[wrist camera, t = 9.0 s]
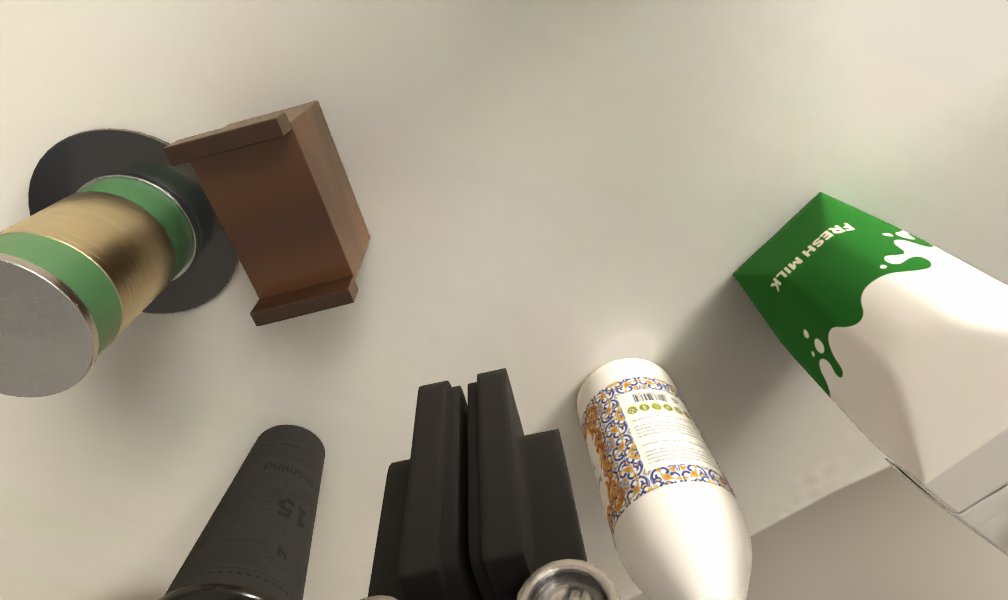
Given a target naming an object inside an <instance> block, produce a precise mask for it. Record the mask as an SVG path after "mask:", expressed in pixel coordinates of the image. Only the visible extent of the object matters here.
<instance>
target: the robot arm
mask: <svg viewBox="0 0 1008 600" xmlns="http://www.w3.org/2000/svg"><path fill="white" fill-rule="evenodd" d="M361 600H621V598H620V596H619V594H618V591H617V589H616V587H615V586H614V584H613V583H612V581H611V579H610V578H609V576H608V575H606V574H605V573H604V572H603V571H602V570H601V569H599V568H598V567H597V566H595V565H592V564H590V563H588V562H587V558H586V553H585V548H584V544H583V539H582V534H581V529H580V524H579V519H578V515H577V510H576V505H575V500H574V495H573V491H572V486H571V481H570V477H569V472H568V468H567V463H566V459H565V454H564V450H563V445H562V441H561V437H560V432H559V429H555V430H550V431H545V432H540V433H535V434H530V435H526V436H524V433H523V429H522V425H521V422H520V418H519V414H518V411H517V407H516V403H515V399H514V396H513V392H512V388H511V385H510V381H509V377H508V374H507V371H506V369H505V368H504V369H499V370H494V371H490V372H485V373H480V374H478V375H477V382H475V383H470V384H468V406H467V403H466V400H465V396H464V393H463V391H462V388H461V386H456V387H451V385H450V383H449V381H443V382H438V383H433V384H429V385H424V386H420V387H419V390H418V397H417V406H416V414H415V423H414V432H413V441H412V449H411V458H410V459H409V460H404V461H399V462H395V463H391V465H390V466H389V469H388V473H387V479H386V485H385V491H384V498H383V504H382V510H381V517H380V523H379V529H378V536H377V542H376V548H375V555H374V561H373V567H372V574H371V580H370V586H369V593H368V597H366V598H363V599H361Z"/></svg>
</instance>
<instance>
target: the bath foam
mask: <svg viewBox="0 0 1008 600" xmlns="http://www.w3.org/2000/svg"><path fill="white" fill-rule="evenodd" d="M577 411H578V416H579V419H580V423H581V426H582V431H583V434H584V438H585V441H586V445H587V449H588V452H589V456H590V459H591V463H592V466H593V470H594V473H595V477H596V481H597V484H598V488H599V491H600V495H601V498H602V502H603V505H604V509H605V513H606V516H607V520H608V523H609V527H610V530H611V534H612V537H613V541H614V544H615V547H616V550H617V552H618V554H619V557H620V559H621V561H622V563H623V565H624V567H625V569H626V571H627V572H628V574H629V576H630V577H631V579H632V580H633V581H634V583H635V584H636V585H637V587H638V588H639V589H640V590H641V591H642V592H643V593H644V595H645V596H647V597H648V598H649V599H650V600H746V598H747V592H748V587H749V581H750V575H751V566H752V546H751V538H750V534H749V529H748V526H747V522H746V519H745V517H744V514H743V512H742V509H741V507H740V505H739V503H738V501H737V500H738V499H736V496H735V494H734V492H733V490H732V488H731V487H730V485H729V483H728V481H727V479H726V478H725V476H724V474H723V472H722V470H721V468H720V467H719V465H718V463H717V461H716V459H715V457H714V456H713V454H712V452H711V450H710V448H709V446H708V445H707V443H706V441H705V439H704V437H703V436H702V434H701V432H700V430H699V428H698V426H697V425H696V423H695V421H694V419H693V417H692V415H691V414H690V412H689V410H688V408H687V406H686V404H685V403H684V401H683V399H682V397H681V395H680V394H679V392H678V391H677V389H676V387H675V385H674V384H673V382H672V380H671V378H670V377H669V375H668V374H667V373H666V372H665V371H664V370H663V369H662V368H661V367H659V366H658V365H656V364H654V363H652V362H650V361H647V360H643V359H635V358H628V359H620V360H616V361H613V362H610V363H607V364H605V365H603V366H601V367H600V368H598V369H597V370H595V371H594V372H593V373H592V374H591V375H590V376H589V377H588V378H587V379H586V380H585V382H584V383H583V385H582V386H581V388H580V391H579V394H578V398H577Z"/></svg>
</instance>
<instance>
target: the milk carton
mask: <svg viewBox="0 0 1008 600" xmlns="http://www.w3.org/2000/svg"><path fill="white" fill-rule="evenodd" d="M733 276H734V277H735V278H736V280H737V281H738V283H739V284H740V285H741V287H742V288H743V290H744V291H745V292H746V294H747V295H748V297H749V298H750V300H751V301H752V302H753V304H754V305H755V307H756V308H757V309H758V311H759V312H760V314H761V315H762V316H763V318H764V319H765V321H766V322H767V324H768V325H769V327H770V328H771V329H772V331H773V332H774V334H775V335H776V337H777V338H778V339H779V340H780V342H781V343H782V344H783V345H784V346H785V348H786V349H787V350H788V351H789V352H790V354H791V355H792V356H793V357H794V358H795V359H796V360H797V361H798V363H799V364H800V365H801V366H802V367H803V368H804V369H805V370H806V371H807V373H808V374H809V375H810V376H811V377H812V378H813V379H814V380H815V381H816V382H817V384H818V385H819V386H820V387H821V388H822V389H823V390H824V391H825V392H826V393H827V395H828V396H829V397H830V398H831V399H832V400H833V401H834V402H835V403H836V404H837V406H838V407H839V408H840V409H841V410H842V411H843V412H844V413H845V414H846V415H847V417H848V418H849V419H850V420H851V421H852V422H853V423H854V424H855V425H856V426H857V428H858V429H859V430H860V431H861V432H862V433H863V434H864V435H865V436H866V437H867V438H868V439H869V440H870V441H871V442H872V443H873V444H874V445H875V446H876V447H877V448H878V449H879V450H881V451H882V452H883V453H884V454H885V455H886V456H888V457H889V458H890V459H891V460H893V461H894V462H895V463H896V464H898V465H899V466H900V467H901V468H902V469H903V470H904V471H905V472H906V473H908V474H909V475H910V476H911V477H913V478H914V479H915V480H916V481H917V482H919V483H920V484H921V485H922V486H924V487H925V488H926V489H927V490H929V491H930V492H931V493H932V494H934V495H935V496H936V497H937V498H938V499H940V500H941V501H942V502H943V503H945V504H946V505H947V506H948V507H950V508H951V509H952V510H953V511H955V512H956V513H957V514H956V513H955V512H953V511H951V510H950V509H948V508H947V507H945V506H944V505H942V504H941V503H939V502H938V501H937V500H935V499H934V498H933V497H932V496H931V495H929V494H928V493H927V492H926V491H925V490H924V489H922V488H921V487H920V486H919V485H917V484H916V483H915V482H914V481H913V480H912V479H911V478H910V477H908V476H907V475H906V474H905V473H904V472H903V471H902V470H901V469H899V468H898V467H897V466H896V465H894V464H893V463H892V462H891V461H889V460H888V459H887V458H885V459H886V460H887V461H888V463H889V464H890V465H891V466H892V467H893V468H895V469H896V470H897V471H898V472H899V473H900V474H901V475H902V476H903V477H905V478H906V479H907V480H908V481H909V482H911V483H912V484H913V485H914V486H915V487H916V488H918V489H919V490H920V491H921V492H922V493H924V494H925V495H926V496H927V497H929V498H930V499H931V500H932V501H934V502H935V503H936V504H938V505H939V506H940V507H941V508H943V509H944V510H946V511H947V512H948V513H950V514H951V515H953V516H954V517H955V518H957V519H958V520H959V521H961V522H962V523H963V524H965V525H966V526H967V527H968V528H970V529H971V530H972V531H974V532H975V533H977V534H978V535H979V536H981V537H982V538H984V539H985V540H987V541H988V542H989V543H991V544H992V545H993V546H995V547H996V548H997V549H999V550H1000V551H1001V552H1003V553H1004V554H1006V555H1007V556H1008V286H1007V285H1005V284H1003V283H1001V282H1000V281H998V280H996V279H994V278H992V277H990V276H989V275H987V274H985V273H983V272H981V271H979V270H977V269H976V268H974V267H972V266H970V265H968V264H966V263H964V262H963V261H961V260H959V259H957V258H955V257H953V256H952V255H950V254H948V253H946V252H944V251H942V250H940V249H939V248H937V247H935V246H933V245H931V244H929V243H927V242H926V241H924V240H922V239H920V238H918V237H916V236H914V235H912V234H909V233H907V232H905V231H903V230H901V229H899V228H897V227H895V226H893V225H891V224H889V223H886V222H884V221H882V220H880V219H878V218H876V217H873V216H871V215H869V214H867V213H865V212H863V211H860V210H858V209H856V208H854V207H852V206H850V205H847V204H845V203H843V202H841V201H839V200H836V199H834V198H832V197H830V196H828V195H826V194H824V193H822V192H820V193H819V194H818V195H817V196H816V197H815V198H814V199H813V200H811V201H810V202H809V203H808V204H807V205H806V206H805V207H804V208H803V209H802V210H801V211H800V212H799V213H798V214H797V215H795V216H794V217H793V218H792V219H791V220H790V221H789V222H788V223H787V224H786V225H785V226H784V227H783V228H782V229H781V230H779V231H778V232H777V233H776V234H775V235H774V236H773V237H772V238H771V239H770V240H769V241H768V242H767V243H766V244H765V245H763V246H762V247H761V248H760V249H759V250H758V251H757V252H756V253H755V254H754V255H753V256H752V257H751V258H750V259H749V260H747V261H746V262H745V263H744V264H743V265H742V266H741V267H740V268H739V269H738V270H737V271H736V272H735V273H734V274H733Z"/></svg>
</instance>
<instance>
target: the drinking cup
mask: <svg viewBox="0 0 1008 600" xmlns="http://www.w3.org/2000/svg"><path fill="white" fill-rule="evenodd" d="M324 457H325V450H324V446H323V444H322V442H321V441H320V439H319V438H318V437H317V436H316V435H315V434H313V433H312V432H310V431H309V430H307V429H304V428H302V427H298V426H293V425H280V426H275V427H272V428H270V429H268V430H266V431H264V432H263V433H262V434H261V435H260V436H259V437H258V439H257V441H256V442H255V444H254V446H253V447H252V449H251V451H250V452H249V454H248V456H247V457H246V459H245V461H244V463H243V464H242V466H241V468H240V469H239V471H238V473H237V474H236V476H235V478H234V479H233V481H232V483H231V484H230V486H229V488H228V489H227V491H226V493H225V494H224V496H223V498H222V500H221V501H220V503H219V505H218V506H217V508H216V510H215V511H214V513H213V515H212V516H211V518H210V520H209V521H208V523H207V525H206V526H205V528H204V530H203V531H202V533H201V535H200V537H199V538H198V540H197V542H196V543H195V545H194V547H193V548H192V550H191V552H190V553H189V555H188V557H187V558H186V560H185V562H184V563H183V565H182V567H181V568H180V570H179V572H178V574H177V575H176V577H175V579H174V580H173V582H172V584H171V585H170V587H169V589H168V590H167V592H166V594H165V595H164V596H163V597H162V598H160V599H159V600H303V594H304V587H305V581H306V574H307V568H308V561H309V555H310V548H311V542H312V535H313V529H314V522H315V516H316V509H317V503H318V496H319V490H320V483H321V477H322V470H323V464H324Z"/></svg>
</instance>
